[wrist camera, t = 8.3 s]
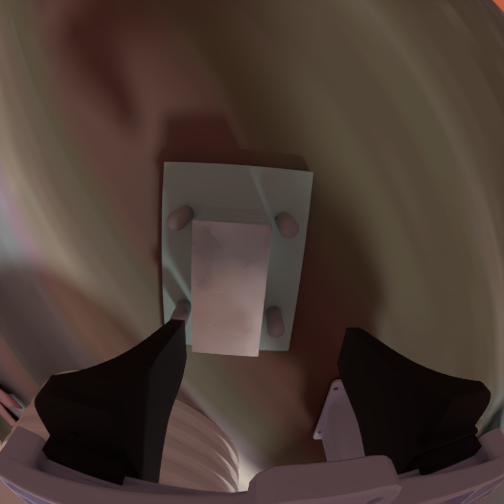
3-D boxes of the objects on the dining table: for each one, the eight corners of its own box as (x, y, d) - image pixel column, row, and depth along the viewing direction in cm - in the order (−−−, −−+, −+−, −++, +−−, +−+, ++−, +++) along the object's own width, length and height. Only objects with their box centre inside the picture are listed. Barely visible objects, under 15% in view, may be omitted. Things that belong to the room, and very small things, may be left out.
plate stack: (14, 392, 27) (-22, 441, 16) (136, 335, 24) (84, 430, 13) (134, 495, 34) (123, 542, 23) (276, 475, 31) (283, 543, 20)
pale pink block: (255, 316, 22) (257, 356, 17) (202, 312, 22) (192, 351, 17) (265, 210, 19) (271, 225, 15) (205, 206, 19) (192, 220, 14)
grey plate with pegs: (286, 344, 24) (292, 369, 20) (168, 335, 23) (158, 359, 20) (310, 171, 20) (322, 173, 16) (168, 161, 19) (152, 161, 16)
